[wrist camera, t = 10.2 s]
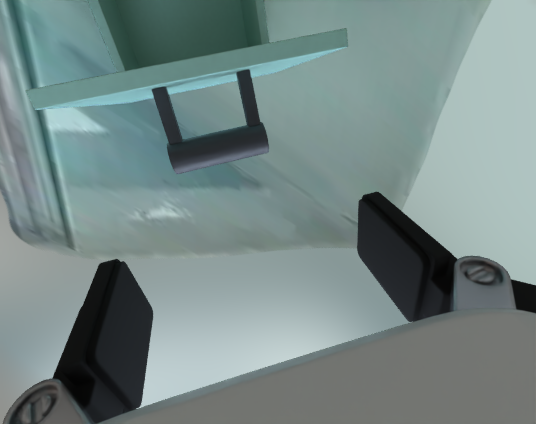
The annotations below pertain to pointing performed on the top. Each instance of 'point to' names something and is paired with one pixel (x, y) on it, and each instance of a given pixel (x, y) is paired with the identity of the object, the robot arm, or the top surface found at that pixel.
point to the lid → (194, 77)
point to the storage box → (176, 29)
